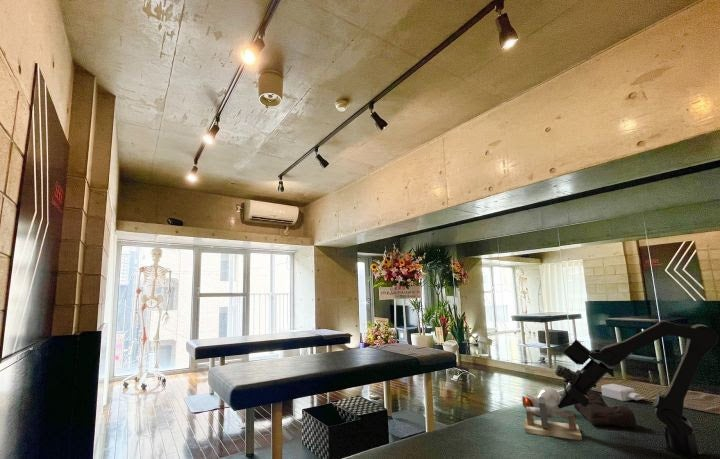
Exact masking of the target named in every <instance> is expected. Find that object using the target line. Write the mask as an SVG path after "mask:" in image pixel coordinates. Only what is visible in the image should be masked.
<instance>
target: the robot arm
mask: <svg viewBox="0 0 720 459" xmlns="http://www.w3.org/2000/svg"><path fill="white" fill-rule="evenodd" d="M667 335H671V336H674V337H678V338H683V339H686V346H685V351H684V353H683V356H682V357H681V360H680V362H679V363H678V364H679V365H678V366H677V368H676V371H675V373H674V375H673V377H672V379H671V382H670V384H669V386H668V389H667V390H666V391H665V392H664V393H662V392H660V391H657V393H656V398H655V400H654V401H652V402H653V407H654V411H655V414H656V418H657V419H658V420H659V421H660V423H663V424H664V425H663V426H664V430H663V435H664V439H665V444H666V446H663V448H664V450H667V451H670V452H672V453H675V454H678V455H680V456H683V457H685V458H692V457H693V458H694V457H698V456H703V455H704V453H703V452H702V451H700V450H699V448H698V443H697V437H696V432H695V431H694V428H693V426H692V424H691V422H690V420H689V419H688V418H687V417H686V416H684V415H683V413H684V406H685V405H684V404H685V403H684V402H685V398H686V396H687V393H688V392H689V390H690V387H691V386H692V383H693V380H694V378H695V377H696V374H697V372H698V370H699V368H700V365H701V363H702V361H703V359H704V357H705V356H707V355H708V354H709V353H710V352H711V351H712V349H713V348H714V347H715V346H716V345H717V343H718V342H719V335H718V333H717V331H716V330H714V328H711V327H710V326H707V325H704V324H701V323H699V324H693V325H690V324H683V323H678V322H677V323H676V322H671V321H668V320H660V321H658V322H657V323H655V324H654V325H652V326H650V327H648V328H646V329H644V330H643V331H640V332H638V333H636V334H635V335H632V336H630V337H629V338H627V339H624V340H622V341H618V342H614V343H611V344H607V345H605V346H602V347H601V348H600V349H588V348H587V347H586V346H585V345H584V344H582V343H581V342H580V341H579V340H578V339H575V340H574V341H573V342H572V344H569V345H568V346H567V348H565V350H564V351H563V352H562V354H563V355H565V356H566V357H567V358H568V359H570V360H571V362H573V363H574V364H575V365H580V366H583V367H582V368H581V369H576V371H574V370H572V369H570V368H567V367H566V366H562V365H560V364H558V365H557V367H556V369H555V372H554V373H555V375H556V376H557V377H560V378H563V379H562V380H563V382H564V383H566V384H563V390H564V391H563V393H562V396H561V399H560V401H559V403H558V405H557V406H558V407H559V408H560V409H563V408H566V407H570V406H574V404H578V403H580V404H582V405H583V406H584V407H586V406H587V405H588V404H589V400H588V397H587V395H588V392H589V391H590V390H592V389H593V388H595V389H596V387H597V384H598V383H599V382H600V381H601V380H602V379H603V378H604V377H605V376H606V375H609V376H611V377H613V378H614V377H615V374H614V373H615V372H614V370H615V369H614V367H615V366H618V365H619V364H620V363H621V362H623V361H624V360H625V359H627V357H629V355H631V354H632V353H633V352H636V351H637V350H640V349H641V348H643V347H645V346H648V345H650V344H651V343H654V342H656V341H658V340H660V339H661V338H664V337H666V336H667ZM588 360H589V361H588ZM587 361H588V362H587ZM598 361H599V362H598ZM584 364H585V365H584ZM609 366H610V367H609Z"/></svg>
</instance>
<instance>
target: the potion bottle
mask: <svg viewBox="0 0 720 459" xmlns="http://www.w3.org/2000/svg"><path fill="white" fill-rule="evenodd" d="M539 397H545V404H546V409H555V410H561V408H559V407H558V406H557V405H558V403H559V401H560V399H561V397H562V396H561V394H560V393H559V391H557V390H556V389H554V388H553V387H551V386H542V387H540V388H538V389H537V392H536V395H534V396H533V395H529V394H526V397H525V396H522V405H523V407H524V408H525V410H526V407H536V408H540V407H539Z"/></svg>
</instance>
